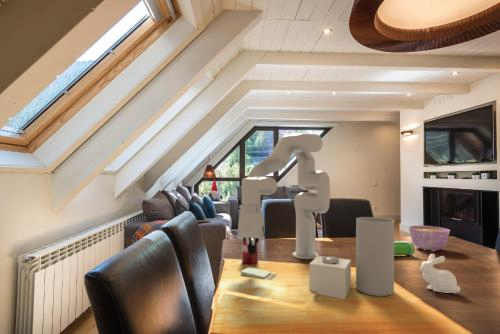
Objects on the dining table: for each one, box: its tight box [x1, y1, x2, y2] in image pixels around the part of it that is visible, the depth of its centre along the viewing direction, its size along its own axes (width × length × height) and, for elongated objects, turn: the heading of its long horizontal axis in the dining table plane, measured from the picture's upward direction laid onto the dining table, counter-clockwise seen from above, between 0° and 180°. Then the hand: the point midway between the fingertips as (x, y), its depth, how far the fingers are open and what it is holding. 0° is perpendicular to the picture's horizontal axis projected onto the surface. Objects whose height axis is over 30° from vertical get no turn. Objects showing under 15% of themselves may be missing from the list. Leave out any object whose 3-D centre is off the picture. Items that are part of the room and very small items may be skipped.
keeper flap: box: [240, 266, 272, 280], centre depth 128 cm, size 7×1×10 cm
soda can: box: [241, 239, 259, 266], centre depth 144 cm, size 7×7×12 cm
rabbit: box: [419, 253, 461, 295], centre depth 115 cm, size 12×9×12 cm
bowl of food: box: [408, 225, 451, 251], centre depth 177 cm, size 20×20×12 cm
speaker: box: [394, 240, 416, 256], centre depth 163 cm, size 18×7×8 cm, turn 96°
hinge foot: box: [266, 273, 278, 281], centre depth 125 cm, size 7×2×1 cm, turn 154°
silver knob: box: [322, 255, 340, 264], centre depth 114 cm, size 6×6×10 cm
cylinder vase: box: [355, 216, 395, 297], centre depth 114 cm, size 12×12×25 cm
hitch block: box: [308, 255, 352, 300], centre depth 114 cm, size 12×12×10 cm
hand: (252, 253), depth 130 cm, fingers closed
